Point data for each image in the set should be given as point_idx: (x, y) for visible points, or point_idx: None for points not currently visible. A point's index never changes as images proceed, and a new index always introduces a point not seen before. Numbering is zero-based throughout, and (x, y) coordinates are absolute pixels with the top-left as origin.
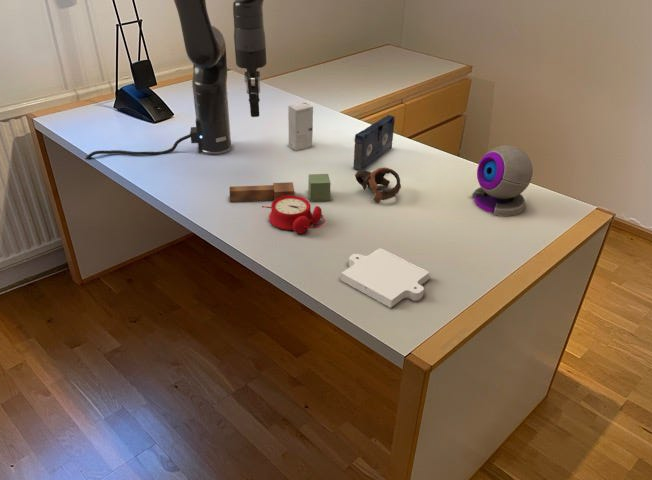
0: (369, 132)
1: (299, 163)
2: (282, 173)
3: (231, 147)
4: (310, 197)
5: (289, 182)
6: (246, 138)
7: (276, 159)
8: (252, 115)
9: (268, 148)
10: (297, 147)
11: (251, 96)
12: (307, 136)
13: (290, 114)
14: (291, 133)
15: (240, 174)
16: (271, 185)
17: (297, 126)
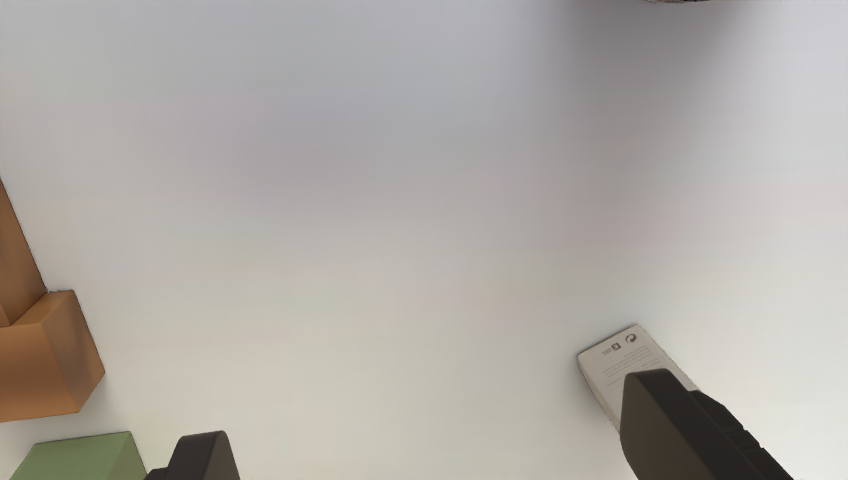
0: None
1: (432, 378)
2: (316, 314)
3: (663, 2)
4: (24, 459)
5: (70, 398)
6: (788, 92)
7: (483, 276)
8: (150, 471)
9: (624, 227)
10: (584, 372)
11: (685, 475)
12: None
13: None
14: None
15: (284, 91)
16: (1, 317)
17: None
